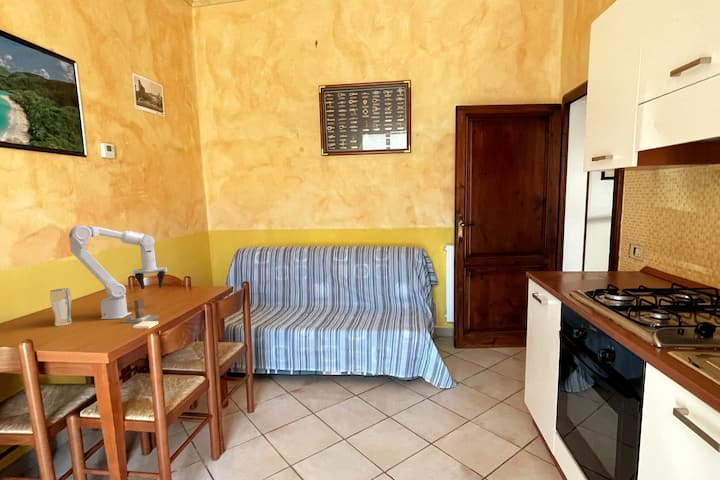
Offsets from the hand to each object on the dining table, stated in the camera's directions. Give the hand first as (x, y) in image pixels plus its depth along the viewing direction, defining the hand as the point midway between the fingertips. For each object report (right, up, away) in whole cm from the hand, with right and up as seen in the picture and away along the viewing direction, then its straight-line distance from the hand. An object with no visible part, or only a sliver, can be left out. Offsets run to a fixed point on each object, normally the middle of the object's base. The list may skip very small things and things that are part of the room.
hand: (151, 287), depth 180 cm
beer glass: (-28, -14, -17) cm, 36 cm away
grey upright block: (+4, -12, -15) cm, 20 cm away
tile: (+7, -13, -23) cm, 27 cm away
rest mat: (+4, -12, -15) cm, 20 cm away
